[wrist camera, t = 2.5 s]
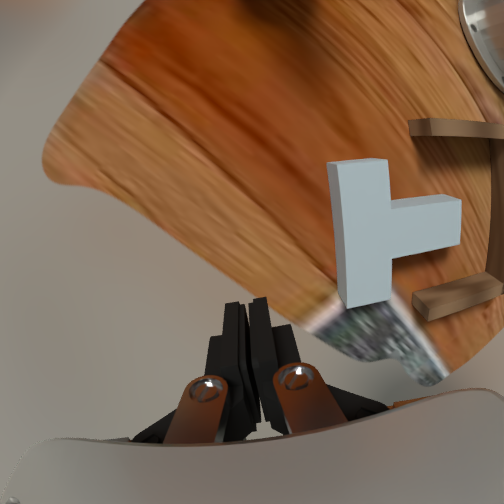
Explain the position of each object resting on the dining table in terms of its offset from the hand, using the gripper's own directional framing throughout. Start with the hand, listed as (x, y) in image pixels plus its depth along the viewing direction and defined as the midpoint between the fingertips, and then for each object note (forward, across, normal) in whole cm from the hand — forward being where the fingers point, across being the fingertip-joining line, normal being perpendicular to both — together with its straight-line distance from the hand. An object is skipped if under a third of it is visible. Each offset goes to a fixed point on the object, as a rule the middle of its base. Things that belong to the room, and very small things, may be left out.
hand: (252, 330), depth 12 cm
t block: (+10, -11, -1) cm, 15 cm away
